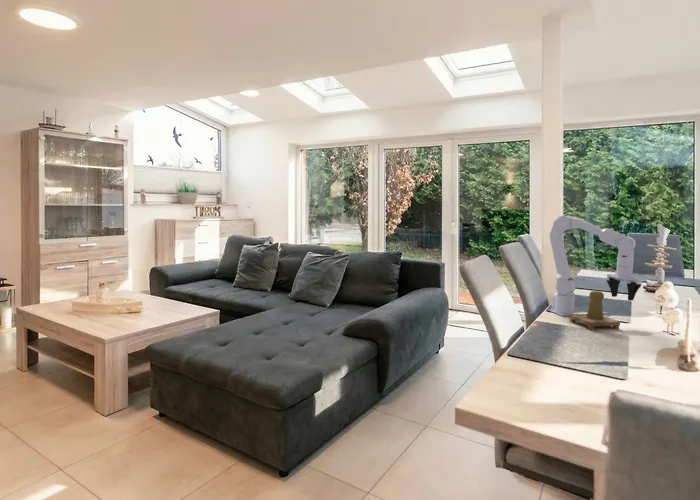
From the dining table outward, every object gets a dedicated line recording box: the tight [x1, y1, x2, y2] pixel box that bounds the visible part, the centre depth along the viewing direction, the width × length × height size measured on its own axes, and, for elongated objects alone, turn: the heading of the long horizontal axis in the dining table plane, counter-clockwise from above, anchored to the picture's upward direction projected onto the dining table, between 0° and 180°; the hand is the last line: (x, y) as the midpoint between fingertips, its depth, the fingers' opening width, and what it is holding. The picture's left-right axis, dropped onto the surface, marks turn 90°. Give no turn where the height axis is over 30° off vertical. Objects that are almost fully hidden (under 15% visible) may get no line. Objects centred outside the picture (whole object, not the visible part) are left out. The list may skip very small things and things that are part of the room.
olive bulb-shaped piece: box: [586, 290, 605, 320], centre depth 183 cm, size 6×6×11 cm
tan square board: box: [569, 313, 621, 331], centre depth 183 cm, size 13×13×3 cm
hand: (622, 298), depth 186 cm, fingers open, 7 cm apart
